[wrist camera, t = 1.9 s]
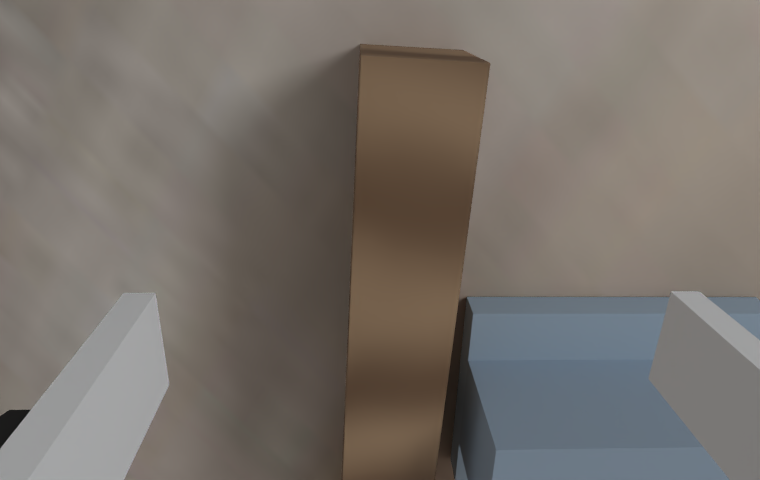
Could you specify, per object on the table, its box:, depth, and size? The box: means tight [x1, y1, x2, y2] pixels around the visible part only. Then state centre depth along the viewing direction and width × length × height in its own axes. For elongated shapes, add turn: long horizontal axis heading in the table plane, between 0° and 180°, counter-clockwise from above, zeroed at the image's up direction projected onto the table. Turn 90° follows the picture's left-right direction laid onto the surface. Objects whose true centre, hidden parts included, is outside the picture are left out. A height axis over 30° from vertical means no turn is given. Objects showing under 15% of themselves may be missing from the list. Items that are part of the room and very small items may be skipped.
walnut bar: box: [342, 44, 490, 480], centre depth 24 cm, size 24×4×5 cm, turn 177°
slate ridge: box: [450, 297, 760, 480], centre depth 25 cm, size 10×14×7 cm
